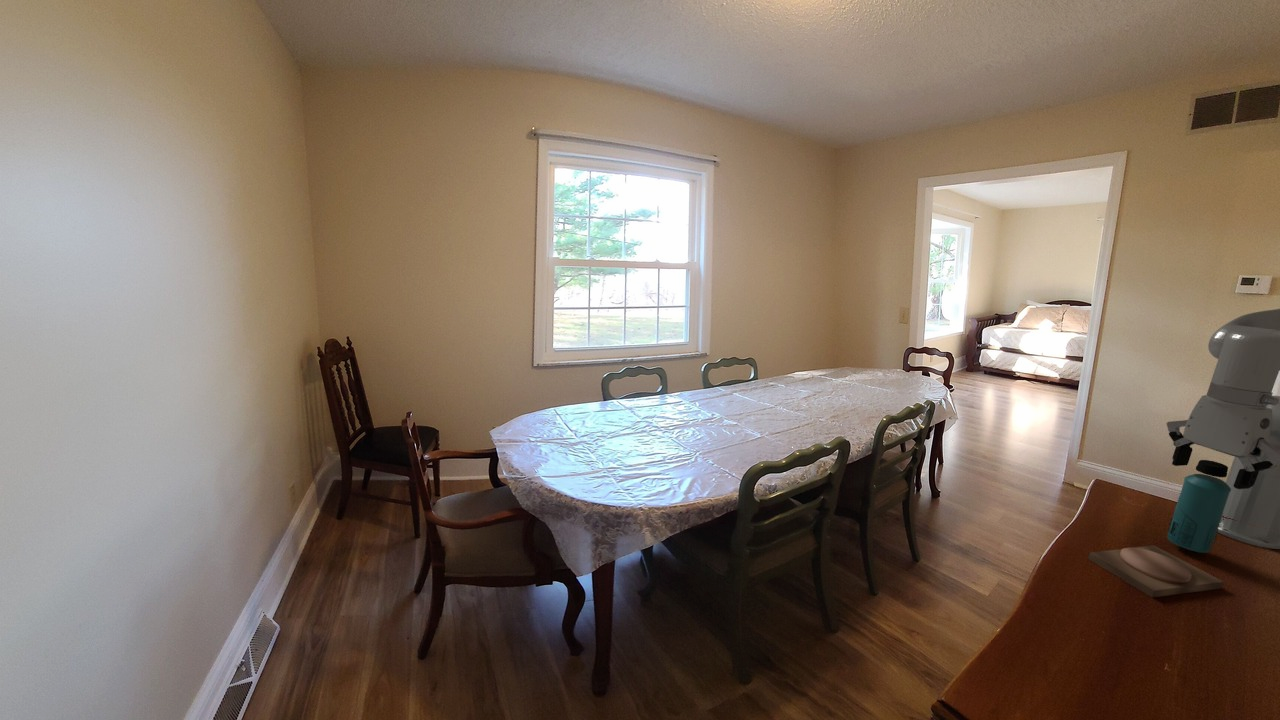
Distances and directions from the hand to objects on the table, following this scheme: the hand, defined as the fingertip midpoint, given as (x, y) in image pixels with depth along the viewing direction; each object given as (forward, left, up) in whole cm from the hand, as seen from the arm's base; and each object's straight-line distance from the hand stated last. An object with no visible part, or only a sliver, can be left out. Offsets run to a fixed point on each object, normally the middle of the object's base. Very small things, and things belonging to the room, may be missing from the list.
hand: (1208, 476), depth 97 cm
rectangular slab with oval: (+15, +5, -17) cm, 24 cm away
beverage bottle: (0, 0, -17) cm, 17 cm away
